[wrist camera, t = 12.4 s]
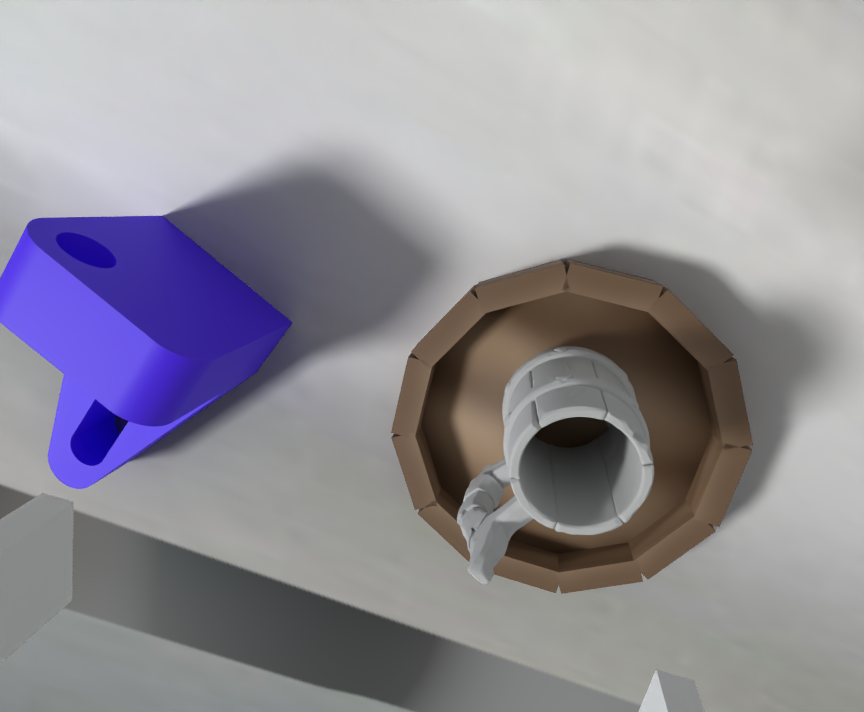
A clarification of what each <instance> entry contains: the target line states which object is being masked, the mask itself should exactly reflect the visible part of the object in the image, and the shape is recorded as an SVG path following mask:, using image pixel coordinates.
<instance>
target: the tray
mask: <svg viewBox="0 0 864 712" xmlns="http://www.w3.org/2000/svg"><path fill="white" fill-rule="evenodd" d="M562 346H575V347H582V348H587V349H590V350H593V351H595V352H598V353H600V354H602V355H604V356H606V357H607V358H609V359H610V360H612V361H613V362H614V363H615V364H616V365H617V366H618V367H619V368H621V369H622V370H623V371H624V372H625V373H626V374H627V376H628V380H629V381H630V383H631V385H632V386H633V388H634V392H635V396H636V401H637V403H638V405H639V410H640V411H641V414H642V416H643V418H644V420H645V422H646V425H647V428H648V432H649V438H650V450H651V453H652V457H653V465H654V480H653V484H652V487H651V490H650V493H649V495H648V497H647V498H646V500H645V501H644V502H643V504H642V505H641V506H640V507H639V509H638V510H637V511H636V512H635V513H634V514H633V515H632V517H631V518H630V520H629V521H628V522H626V523H624V522H623V521H622V522H623V525H621V526H619V527H617V528H616V529H613V530H611V531H608V532H604V533H601V534H596V535H572V534H567V533H564V532H557V531H556V530H555V528H553V529H552V528H549V527H546V526H544V525H543V524H541V523H539V522H537V521H536V520H535V519H533V520H531V521H530V522H529V523H527V524H526V525H524V526H523V527H521V528H520V529H518V530H517V531H516V532H515V533H514V534H513V535H512V536H511V538H510V540H509V542H508V546H507V550H506V552H505V555H504V556H503V557H502V558H501V559H500V560H499V561H498V563H497V564H496V565H495V566H494V568H493V570H494V574H495V575H498V576H502V577H505V578H508V579H511V580H515V581H518V582H521V583H524V584H528V585H531V586H534V587H537V588H541V589H544V590H547V591H551V592H554V593H556V591H557V588H558V585H559V587H560V590H561V594H562V593H568V592H575V591H582V590H589V589H596V588H602V587H609V586H616V585H623V584H630V583H636V582H643V580H642V576H641V573H642V574H643V575H644V576H645V577H646V578H647V579H650V578H651V577H652V576H654V575H655V574H656V573H658V572H659V571H661V570H662V569H663V568H665V567H666V566H668V565H669V564H670V563H672V562H673V561H675V560H676V559H677V558H679V557H680V556H682V555H683V554H684V553H686V552H687V551H689V550H690V549H691V548H693V547H694V546H696V545H697V544H698V543H700V542H701V541H703V540H704V539H705V538H707V537H708V536H710V535H711V534H712V533H714V532H715V529H714V528H713V526H712V525H715V526H720V524H721V521H722V519H723V517H724V514H725V512H726V510H727V507H728V505H729V503H730V501H731V498H732V496H733V494H734V491H735V489H736V487H737V484H738V482H739V480H740V477H741V475H742V473H743V470H744V468H745V466H746V463H747V461H748V459H749V456H750V454H751V452H752V450H751V449H750V448H749V447H748V445H753V443H752V438H751V433H750V428H749V422H748V417H747V412H746V407H745V402H744V397H743V392H742V387H741V381H740V376H739V371H738V366H737V361H736V359H734V358H733V357H731V356H733V354H732V353H731V352H730V351H729V350H728V349H727V348H726V347H725V346H724V345H723V344H722V343H721V342H720V341H719V340H718V339H717V338H716V337H715V336H714V335H713V334H712V333H711V332H710V331H709V330H708V329H707V328H706V327H705V326H704V325H703V324H702V323H701V322H700V321H699V320H698V319H697V318H696V317H695V316H694V315H693V314H692V313H691V312H690V311H689V310H688V309H687V308H686V307H685V306H684V305H683V304H682V303H681V302H680V301H679V300H678V299H677V298H676V297H675V296H674V295H673V294H672V293H671V292H670V291H669V290H668V289H666V288H665V287H663V286H661V285H659V284H658V283H656V282H654V281H652V280H649V279H645V278H641V277H637V276H633V275H628V274H624V273H620V272H616V271H612V270H608V269H604V268H600V267H596V266H592V265H588V264H584V263H580V262H576V261H572V260H568V259H567V261H566V265H564V263H563V262H562V260H557V261H554V262H550V263H547V264H543V265H539V266H536V267H532V268H529V269H525V270H522V271H518V272H515V273H511V274H507V275H504V276H500V277H497V278H493V279H490V280H486V281H483V282H479V284H478V285H477V286H475V285H474V286H473V287H472V288H471V289H470V290H469V291H468V292H467V294H466V295H465V296H464V297H463V298H462V299H461V300H460V301H459V302H458V303H457V304H456V305H455V306H454V307H453V308H452V309H451V310H450V311H449V312H448V313H447V314H446V315H445V316H444V317H443V318H442V319H441V320H440V321H439V322H438V323H437V324H436V325H435V326H434V327H433V328H432V329H431V330H430V332H429V333H428V334H427V335H426V336H425V337H424V338H423V339H422V340H421V341H420V342H419V343H418V344H417V345H416V347H415V348H414V349H413V350H412V351H411V352H412V353H411V354H410V356H409V357H408V361H407V365H406V370H405V374H404V378H403V383H402V387H401V392H400V396H399V400H398V405H397V409H396V414H395V418H394V422H393V427H392V431H391V433H394V435H393V436H392V441H393V444H394V447H395V450H396V453H397V456H398V459H399V462H400V465H401V468H402V471H403V474H404V477H405V481H406V484H407V487H408V490H409V493H410V496H411V499H412V502H413V505H414V508H415V510H416V509H420V510H419V512H418V515H420V516H421V517H422V518H423V519H424V520H425V521H426V522H427V523H428V524H429V525H430V526H431V527H432V528H433V529H434V530H436V531H437V532H438V533H439V534H440V535H441V536H442V537H443V538H444V539H445V540H446V541H447V542H448V543H449V544H450V545H452V546H453V547H454V548H455V549H456V550H457V551H458V552H459V553H460V554H461V555H462V556H463V557H464V558H465V559H466V560H468V561H470V558H471V557H470V552H469V550H468V546H467V541H466V539H465V537H464V536H463V533H462V530H461V527H460V525H459V524H458V523H457V516H458V512H459V509H460V507H461V505H462V503H463V500H464V496H465V492H466V490H467V488H468V487H469V484H470V482H471V481H472V480H473V479H474V478H475V477H477V476H478V475H479V474H480V473H481V471H482V470H483V468H485V467H486V466H487V465H489V464H494V463H496V462H498V461H500V460H502V459H504V458H505V456H504V449H503V439H504V422H503V415H502V405H503V398H504V393H505V392H504V391H505V387H506V385H507V383H508V382H509V381H510V379H511V377H512V376H513V374H514V373H515V371H516V370H517V369H518V368H519V367H520V366H521V365H522V364H524V363H525V362H526V361H527V360H529V359H531V358H532V357H534V356H535V355H537V354H538V353H540V352H543V351H545V350H548V349H551V348H556V347H562ZM607 429H608V425H607V423H606V421H605V420H601V419H595V418H590V417H571V418H565V419H561V420H558V421H555V422H553V423H551V424H549V425H547V426H545V427H543V428H542V427H541V429H540V430H539V431H538V432H537V433H536V434H535V435H534V437H536V438H537V439H539V440H541V441H543V442H545V443H547V444H548V445H549V444H551V445H554V446H557V447H564V448H573V447H578V446H582V445H586V444H588V443H590V442H591V441H593V440H594V439H598V437H599V436H600V435H601V434H603V433H604V432H605V431H606V430H607ZM504 491H505V493H504V495H503V496H502V498H501V500H500V503H499V505H498V506H497V507H496V508H494V511H493V512H495V511H496V510H497V509H499V508H500V507H501V506H503V505H504V504H505V503H507V502H508V501H509V500H510V499H511V498H513V497H514V496H515V494H514V492H513V490H512V487H511V484H510V485H508V486H507V487H505V488H504Z"/></svg>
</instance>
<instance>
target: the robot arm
mask: <svg viewBox="0 0 864 712" xmlns="http://www.w3.org/2000/svg"><path fill="white" fill-rule="evenodd" d="M72 563H73V502H72V501H69V500H65V499H62V498H58V497H55V496H51V495H48V494H44V493H42V494H40V495H39V496H37V497H36V498H34V499H32V500H31V501H29V502H27V503H26V504H24V505H23V506H21V507H19V508H18V509H16V510H15V511H13V512H11V513H10V514H8V515H7V516H5V517H3V518H2V519H0V664H1V663H2V662H3V661H4V660H6V659H7V658H8V657H9V656H10V655H11V654H12V653H13V652H14V651H16V650H17V649H18V648H19V647H20V646H21V645H22V644H23V643H25V642H26V641H27V640H28V639H29V638H30V637H31V636H32V635H33V634H35V633H36V632H37V631H38V630H39V629H40V628H41V627H42V626H44V625H45V624H46V623H47V622H48V621H49V620H50V619H51V618H52V617H54V616H55V615H56V614H57V613H58V612H59V611H60V610H61V609H63V608H64V607H65V606H66V605H67V604H68V603H69V602H70V601H71V600H72V566H73V565H72ZM639 712H705V710H704V708H703V705H702V702H701V699H700V696H699V693H698V690H697V687H696V685H695V682H694V680H691V679H688V678H684V677H681V676H677V675H674V674H670V673H667V672H663V671H660V670H656V671H655V674H654V676H653V678H652V681H651V683H650V686H649V688H648V690H647V693H646V695H645V698H644V700H643V702H642V705H641V707H640V710H639Z"/></svg>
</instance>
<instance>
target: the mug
mask: <svg viewBox="0 0 864 712" xmlns="http://www.w3.org/2000/svg"><path fill="white" fill-rule="evenodd" d="M504 392H505V393H504V398H503V405H502V415H503V422H504V439H503V449H504V456H505V458H504V459H502V460H500V461H498V462H496V463H494V464H489V465H487V466H486V467H485V468H483V470H482V471H481V473H480V474H479V475H478V476H477V477H475V478H474V479H473V480H472V481H471V482H470V484H469V487H468V488H467V490H466V492H465V496H464V500H463V503H462V505H461V507H460V509H459V512H458V516H457V523H458V524H459V525H460V527H461V530H462V533H463V536H464V537H465V539H466V541H467V546H468V550H469V552H470V557H471V558H470V561H469V564H468V571H469V573H470V574H471V575H472V576H473V577H474V578H475V579H476V580H478V581H479V582H480V583H481V584H484V585H487V584H488V583H489V582H490V580H491V579H492V577H493V575H494V570H493V568H494V566H495V565H496V564H497V563H498V561H499V560H500V559H501V558H502V557H503V556H504V555H505V552H506V550H507V546H508V542H509V540H510V538H511V536H512V535H513V534H514V533H515V532H516V531H517V530H518V529H520V528H521V527H523V526H524V525H526V524H527V523H529V522H530V521H531V520H533V519H535V520H536V521H537V522H539V523H541V524H543V525H544V526H546V527H549V528H552V529H553V528H555V530H556V531H557V532H564V533H567V534H572V535H596V534H601V533H604V532H608V531H611V530H613V529H616V528H617V527H619V526H621V525H623V522H624V523H626V522H628V521H629V520H630V518H631V517H632V515H633V514H634V513H635V512H636V511H637V510H638V509H639V507H640V506H641V505H642V504H643V502H644V501H645V500H646V498H647V497H648V495H649V493H650V490H651V487H652V484H653V480H654V465H653V457H652V453H651V450H650V438H649V432H648V428H647V425H646V422H645V420H644V418H643V416H642V414H641V411H640V410H639V405H638V403H637V401H636V396H635V392H634V388H633V386H632V385H631V383H630V381H629V380H628V376H627V374H626V373H625V372H624V371H623V370H622V369H621V368H619V367H618V366H617V365H616V364H615V363H614V362H613V361H612V360H610V359H609V358H607V357H606V356H604V355H602V354H600V353H598V352H595V351H593V350H590V349H587V348H582V347H575V346H562V347H556V348H551V349H548V350H545V351H543V352H540V353H538V354H537V355H535V356H534V357H532V358H531V359H529V360H527V361H526V362H525V363H524V364H522V365H521V366H520V367H519V368H518V369H517V370H516V371H515V373H514V374H513V376H512V377H511V379H510V381H509V382H508V383H507V385H506V387H505V391H504ZM571 417H590V418H595V419H601V420H605V421H606V423H607V425H608V429H607V430H606V431H605V432H604V433H603V434H601V435H600V436H599V437H598V439H594V440H593V441H591V442H590V443H588V444H586V445H582V446H578V447H573V448H564V447H557V446H554V445H551V444H549V445H548V444H547V443H545V442H543V441H541V440H539V439H537V438H536V437H534V435H535V434H536V433H537V432H538V431H539V430H540V429H541V427H542V428H543V427H545V426H547V425H549V424H551V423H553V422H555V421H558V420H561V419H565V418H571ZM510 484H511V487H512V490H513V492H514V494H515V496H514V497H513V498H511V499H510V500H509V501H508V502H507V503H505V504H504V505H503V506H501V507H500V508H499V509H497V510H496V511H495V512H493V511H494V508H496V507H497V506H498V505H499V503H500V500H501V498H502V496H503V495H504V493H505V491H504V488H505V487H507V486H508V485H510ZM622 521H623V522H622Z"/></svg>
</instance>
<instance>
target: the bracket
mask: <svg viewBox="0 0 864 712" xmlns="http://www.w3.org/2000/svg"><path fill="white" fill-rule="evenodd" d="M0 323H1V324H3V325H4V326H5V327H6V328H8V329H9V330H10V331H11V332H13V333H14V334H15V335H16V336H18V337H19V338H20V339H21V340H22V341H24V342H25V343H26V344H27V345H29V346H30V347H31V348H32V349H34V350H35V351H36V352H37V353H39V354H40V355H41V356H42V357H44V358H45V359H46V360H47V361H49V362H50V363H51V364H52V365H54V366H55V367H56V368H57V369H59V370H60V371H61V372H62V373H64V377H63V382H62V387H61V392H60V397H59V402H58V407H57V412H56V417H55V422H54V427H53V432H52V437H51V442H50V447H49V452H48V461H49V465H50V468H51V470H52V472H53V473H54V475H55V476H56V477H57V478H58V479H59V480H60V481H61V482H62V483H64V484H65V485H67V486H69V487H72V488H76V489H83V488H87V487H89V486H91V485H92V484H94V483H96V482H97V481H99V480H100V479H102V478H103V477H105V476H107V475H108V474H110V473H111V472H113V471H115V470H116V469H118V468H119V467H121V466H123V465H124V464H126V463H127V462H129V461H131V460H132V459H133V458H135V457H136V456H138V455H139V454H141V453H142V452H143V451H145V450H146V449H148V448H149V447H151V446H152V445H153V444H155V443H156V442H158V441H159V440H161V439H162V438H163V437H165V436H166V435H168V434H169V433H171V432H172V431H173V430H175V429H176V428H178V427H179V426H181V425H182V424H183V423H185V422H186V421H188V420H189V419H191V418H192V417H193V416H195V415H196V414H198V413H199V412H201V411H202V410H203V409H205V408H206V407H208V406H209V405H211V404H212V403H213V402H215V401H216V400H218V399H219V398H221V397H222V396H223V395H225V394H226V393H228V392H229V391H231V390H232V389H233V388H235V387H236V386H238V385H239V384H241V383H242V382H243V381H245V380H246V379H248V378H249V377H251V376H252V375H253V374H255V373H256V372H257V371H258V369H259V368H260V366H261V365H262V364H263V362H264V361H265V360H266V358H267V357H268V355H269V354H270V353H271V351H272V350H273V349H274V347H275V346H276V344H277V343H278V342H279V340H280V339H281V338H282V336H283V335H284V333H285V332H286V331H287V329H288V328H289V327H290V325H291V324H292V322H291V321H290V320H289V319H287V318H286V317H285V316H284V315H282V314H281V313H280V312H279V311H278V310H276V309H275V308H274V307H273V306H272V305H270V304H269V303H268V302H267V301H265V300H264V299H263V298H262V297H261V296H259V295H258V294H257V293H256V292H254V291H253V290H252V289H251V288H250V287H248V286H247V285H246V284H245V283H243V282H242V281H241V280H240V279H239V278H237V277H236V276H235V275H234V274H233V273H231V272H230V271H229V270H228V269H226V268H225V267H224V266H223V265H222V264H220V263H219V262H218V261H217V260H215V259H214V258H213V257H212V256H211V255H209V254H208V253H207V252H206V251H205V250H203V249H202V248H201V247H200V246H198V245H197V244H196V243H195V242H194V241H192V240H191V239H190V238H189V237H187V236H186V235H185V234H184V233H183V232H181V231H180V230H179V229H178V228H177V227H175V226H174V225H173V224H172V223H170V222H169V221H168V220H167V219H166V218H164V217H163V216H126V217H67V218H37V219H34V220H32V221H30V222H29V223H28V225H27V227H26V229H25V230H24V232H23V234H22V236H21V238H20V240H19V242H18V244H17V246H16V248H15V250H14V252H13V254H12V256H11V258H10V260H9V262H8V264H7V266H6V268H5V270H4V272H3V274H2V276H1V278H0ZM116 415H117V416H119V417H121V418H123V419H125V420H127V421H129V422H128V423H127V425H126V426H125V428H124V429H123V431H122V432H121V434H119V433H118V431H117V429H116V427H115V416H116Z"/></svg>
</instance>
